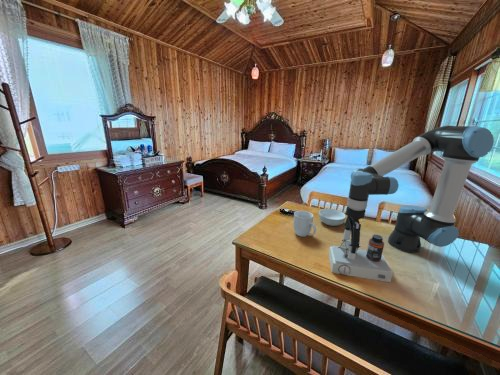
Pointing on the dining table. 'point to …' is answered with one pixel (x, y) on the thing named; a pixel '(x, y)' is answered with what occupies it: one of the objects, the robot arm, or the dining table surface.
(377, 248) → the supplement bottle
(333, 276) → the dining table surface
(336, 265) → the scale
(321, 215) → the cereal bowl
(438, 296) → the dining table surface
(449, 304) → the dining table surface
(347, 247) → the game die
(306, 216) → the mug
